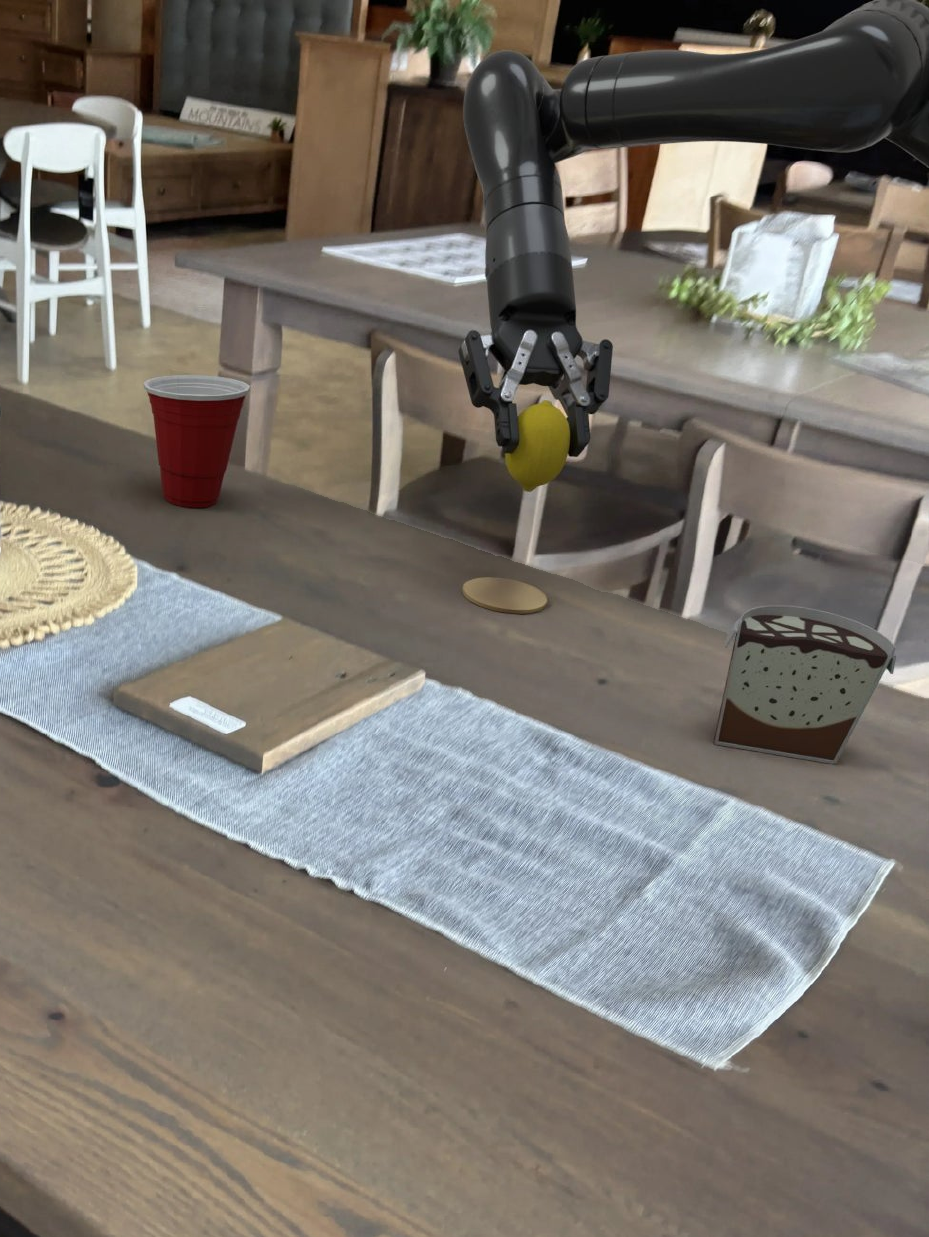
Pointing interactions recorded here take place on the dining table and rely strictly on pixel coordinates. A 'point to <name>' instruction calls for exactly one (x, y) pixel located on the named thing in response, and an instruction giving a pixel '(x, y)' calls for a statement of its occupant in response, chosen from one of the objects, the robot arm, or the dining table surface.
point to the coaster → (504, 595)
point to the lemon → (539, 446)
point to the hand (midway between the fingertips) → (544, 450)
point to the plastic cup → (194, 433)
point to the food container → (799, 681)
